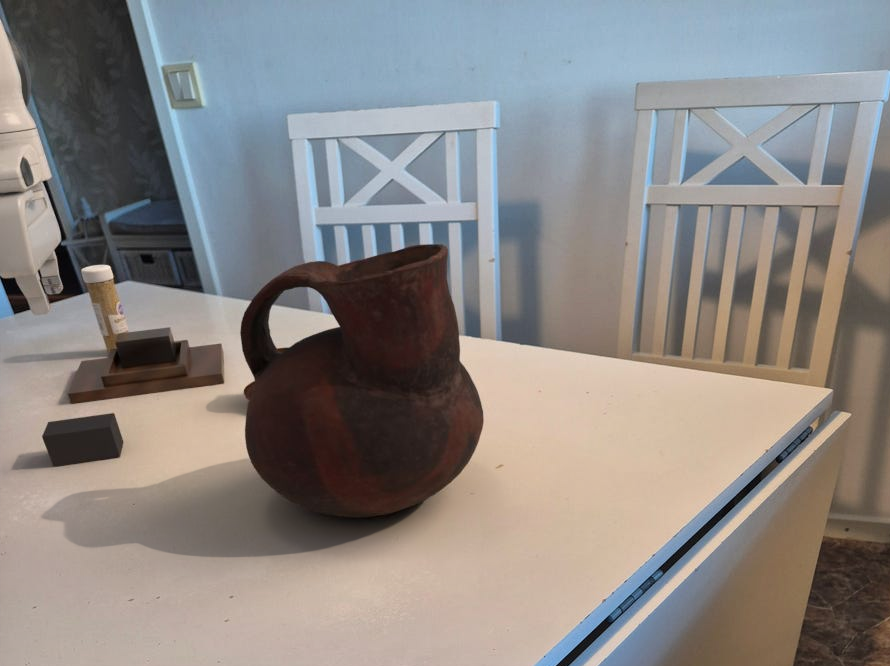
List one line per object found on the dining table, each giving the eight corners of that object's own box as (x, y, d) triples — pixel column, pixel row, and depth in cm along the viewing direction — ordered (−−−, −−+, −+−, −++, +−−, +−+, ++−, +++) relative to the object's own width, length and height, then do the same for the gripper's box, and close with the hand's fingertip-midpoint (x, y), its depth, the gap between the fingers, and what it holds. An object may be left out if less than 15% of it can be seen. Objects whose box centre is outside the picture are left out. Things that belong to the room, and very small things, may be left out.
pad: (53, 466, 104) (41, 436, 102) (59, 451, 108) (48, 421, 105) (120, 457, 105) (110, 426, 103) (123, 442, 109) (114, 412, 107)
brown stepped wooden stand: (70, 403, 122) (57, 366, 119) (84, 370, 135) (72, 335, 132) (224, 383, 126) (215, 346, 123) (223, 352, 139) (215, 318, 135)
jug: (345, 435, 107) (311, 220, 92) (523, 465, 97) (517, 228, 82) (211, 522, 90) (143, 274, 75) (411, 569, 79) (378, 293, 65)
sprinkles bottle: (134, 353, 141) (108, 268, 133) (105, 357, 140) (78, 271, 132) (135, 346, 144) (111, 262, 136) (108, 349, 143) (81, 265, 135)
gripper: (-10, 156, 95) (35, 285, 103) (-56, 179, 79) (2, 329, 87) (49, 151, 96) (88, 279, 104) (15, 173, 80) (65, 322, 88)
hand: (49, 302), depth 96 cm, fingers open, 8 cm apart
